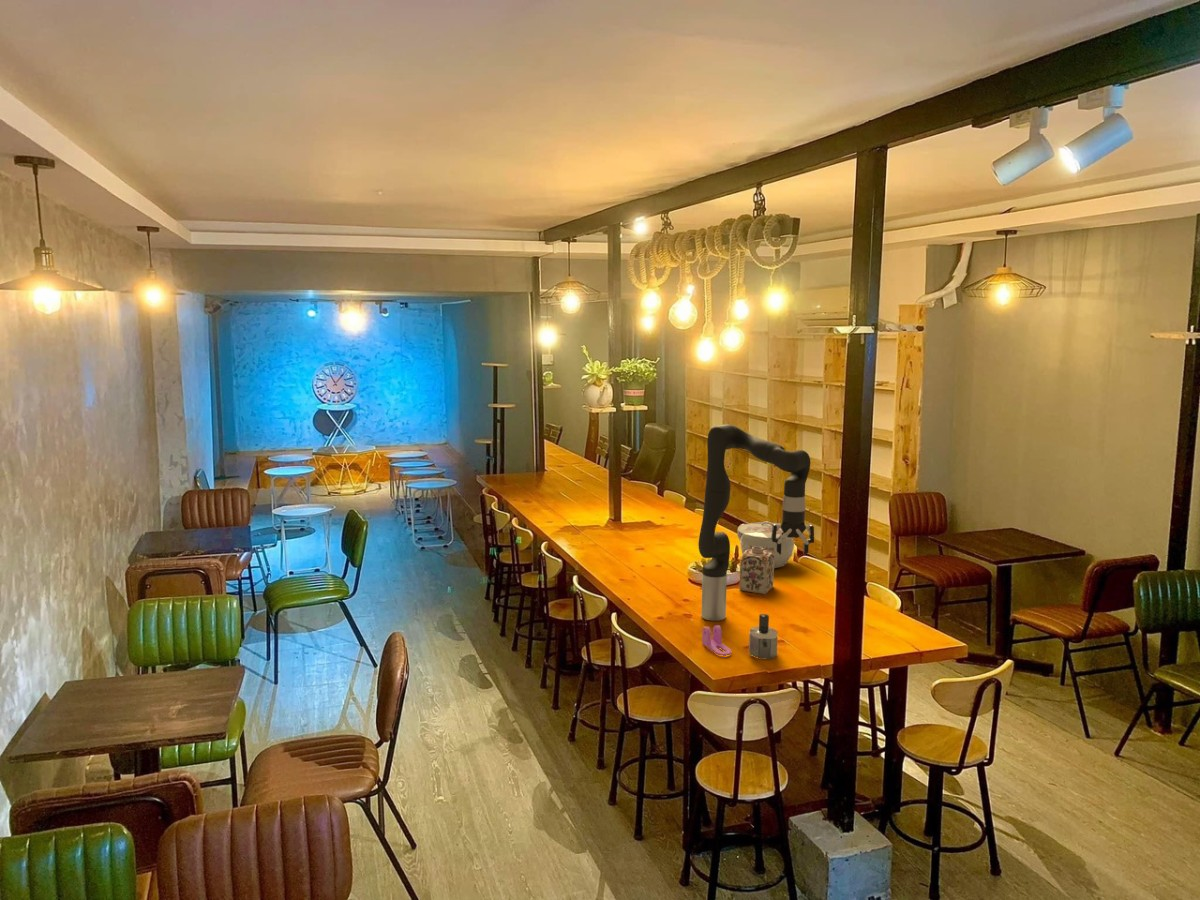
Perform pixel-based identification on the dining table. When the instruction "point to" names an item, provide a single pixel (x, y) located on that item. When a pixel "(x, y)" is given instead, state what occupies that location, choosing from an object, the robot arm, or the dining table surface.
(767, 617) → the lid
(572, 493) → the dining table surface
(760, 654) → the pot
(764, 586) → the decorative jar
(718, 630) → the bracket
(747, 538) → the chamber pot
